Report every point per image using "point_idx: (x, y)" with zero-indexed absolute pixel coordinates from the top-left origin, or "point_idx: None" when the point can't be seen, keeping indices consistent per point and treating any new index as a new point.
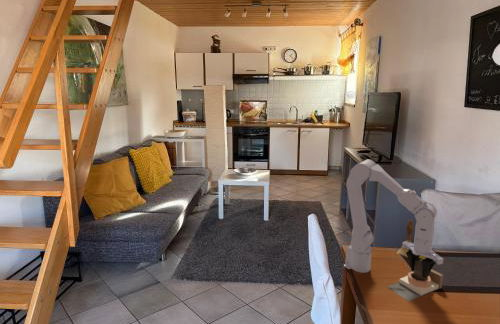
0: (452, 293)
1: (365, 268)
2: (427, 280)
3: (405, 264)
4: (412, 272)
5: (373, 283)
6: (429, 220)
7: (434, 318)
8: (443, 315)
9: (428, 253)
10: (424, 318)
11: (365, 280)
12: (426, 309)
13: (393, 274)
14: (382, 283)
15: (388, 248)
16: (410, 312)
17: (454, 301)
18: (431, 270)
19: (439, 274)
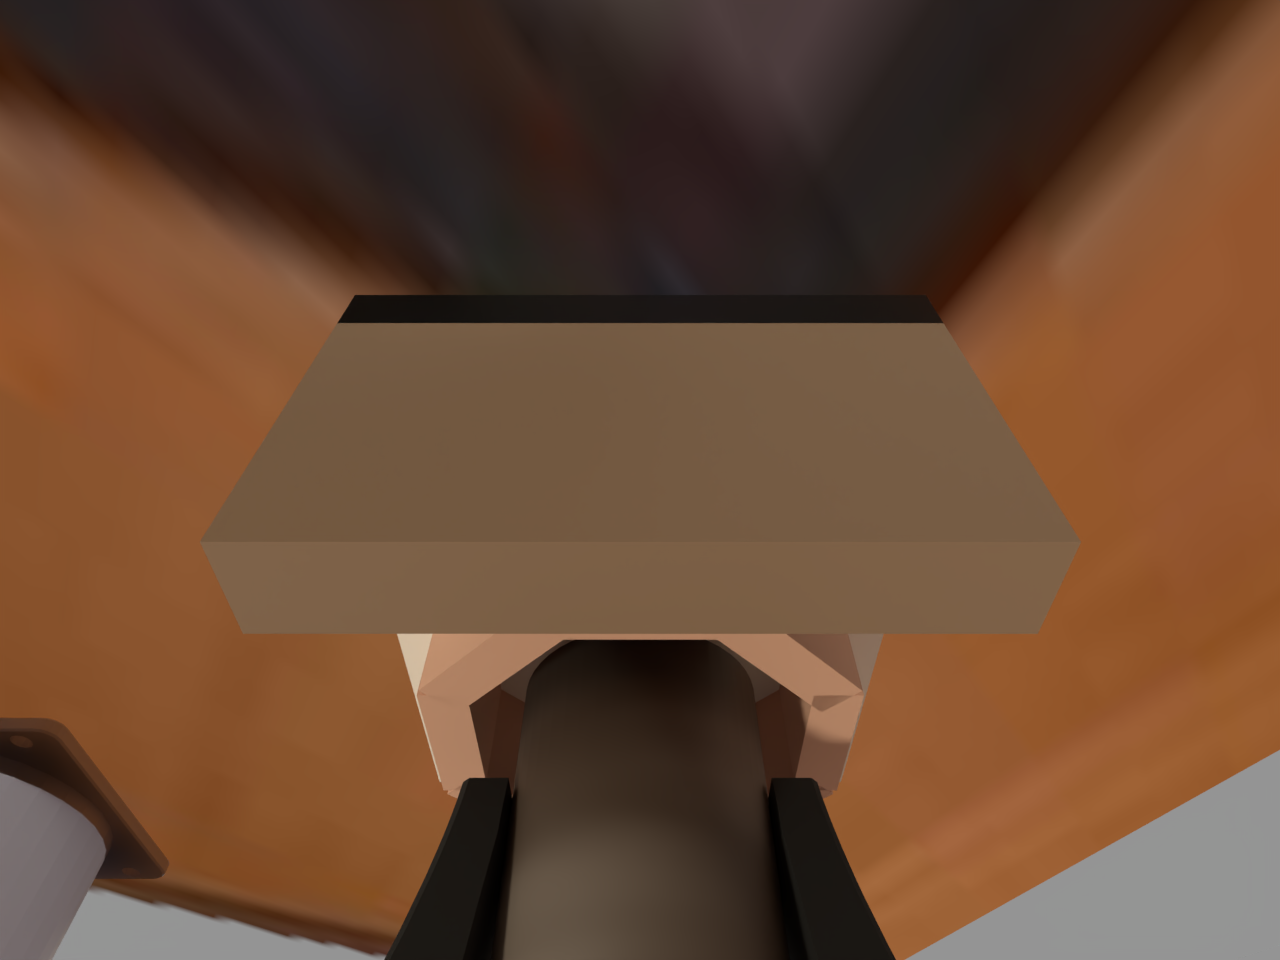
0: (1142, 191)
1: (70, 907)
2: (818, 735)
3: None
4: (460, 737)
5: (329, 836)
6: None
7: (1098, 801)
8: (1165, 723)
9: None
10: (1021, 848)
11: (248, 854)
12: (975, 768)
13: (157, 569)
14: (358, 784)
15: None
16: (886, 869)
17: (1233, 400)
18: (713, 598)
19: (982, 599)
